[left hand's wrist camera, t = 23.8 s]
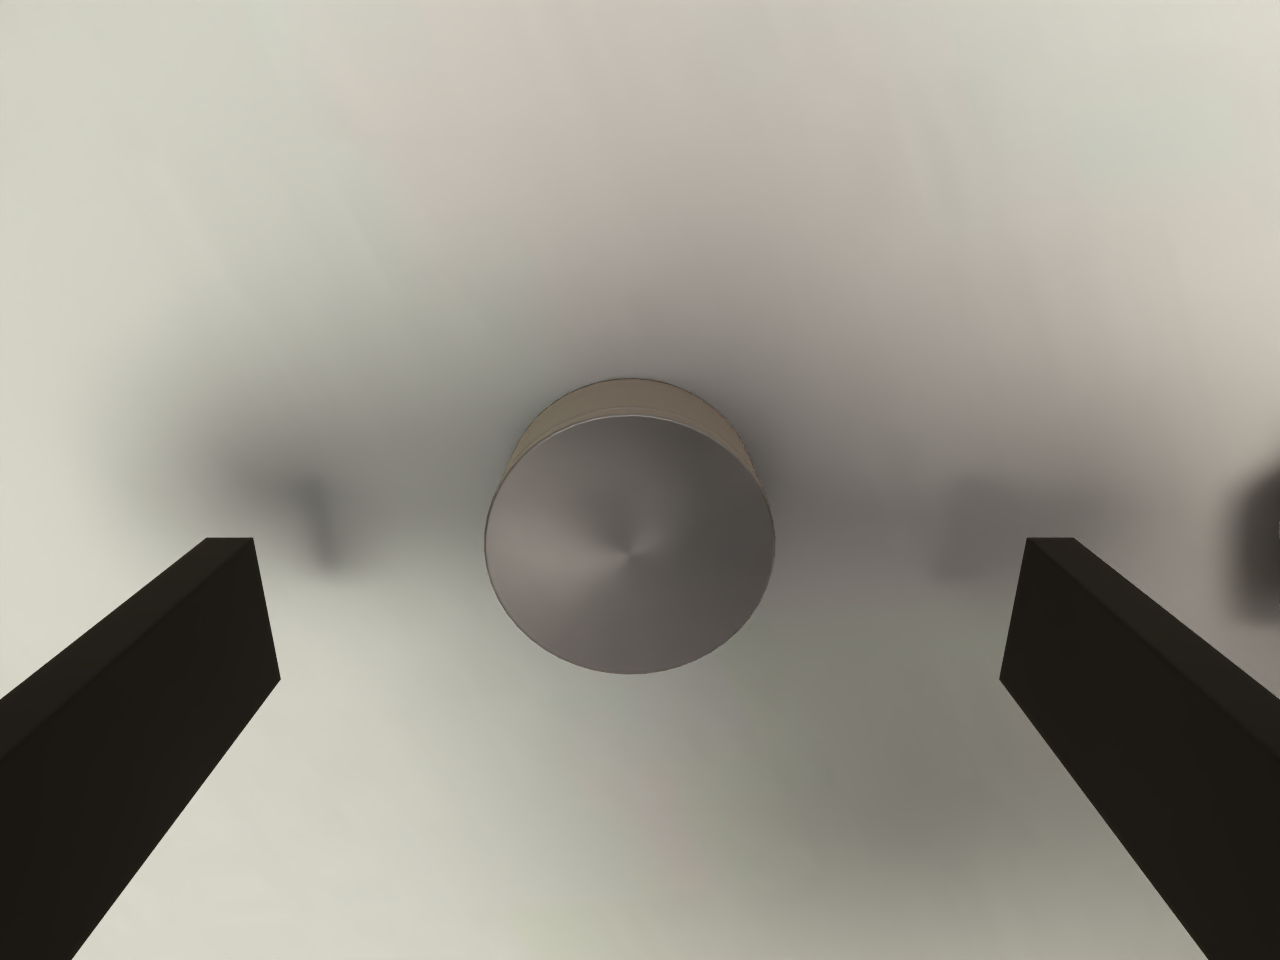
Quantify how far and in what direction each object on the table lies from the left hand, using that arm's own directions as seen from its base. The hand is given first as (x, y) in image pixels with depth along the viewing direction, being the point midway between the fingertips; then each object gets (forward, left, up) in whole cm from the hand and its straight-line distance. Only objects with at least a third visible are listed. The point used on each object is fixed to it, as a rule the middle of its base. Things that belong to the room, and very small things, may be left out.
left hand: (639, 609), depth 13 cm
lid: (+1, 0, -1) cm, 1 cm away
